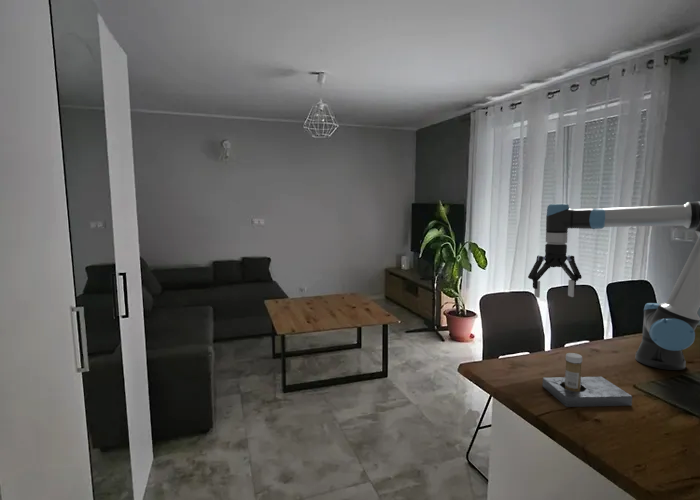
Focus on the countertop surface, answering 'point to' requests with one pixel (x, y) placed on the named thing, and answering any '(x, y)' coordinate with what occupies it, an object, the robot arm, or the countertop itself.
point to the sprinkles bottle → (573, 372)
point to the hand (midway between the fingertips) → (553, 296)
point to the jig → (588, 392)
